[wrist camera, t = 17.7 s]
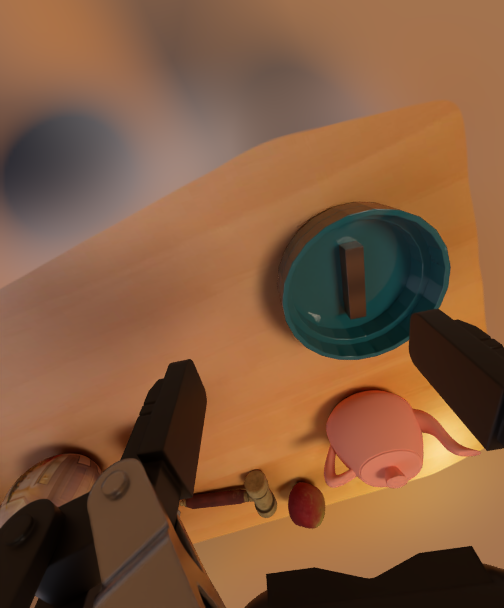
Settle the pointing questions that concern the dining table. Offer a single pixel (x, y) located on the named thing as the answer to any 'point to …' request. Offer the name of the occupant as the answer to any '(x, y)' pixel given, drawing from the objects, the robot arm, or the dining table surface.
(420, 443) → the teapot
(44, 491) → the ornament
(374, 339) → the bowl
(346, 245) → the stick
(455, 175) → the dining table surface
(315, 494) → the apple
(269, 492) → the gavel
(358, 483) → the dining table surface
